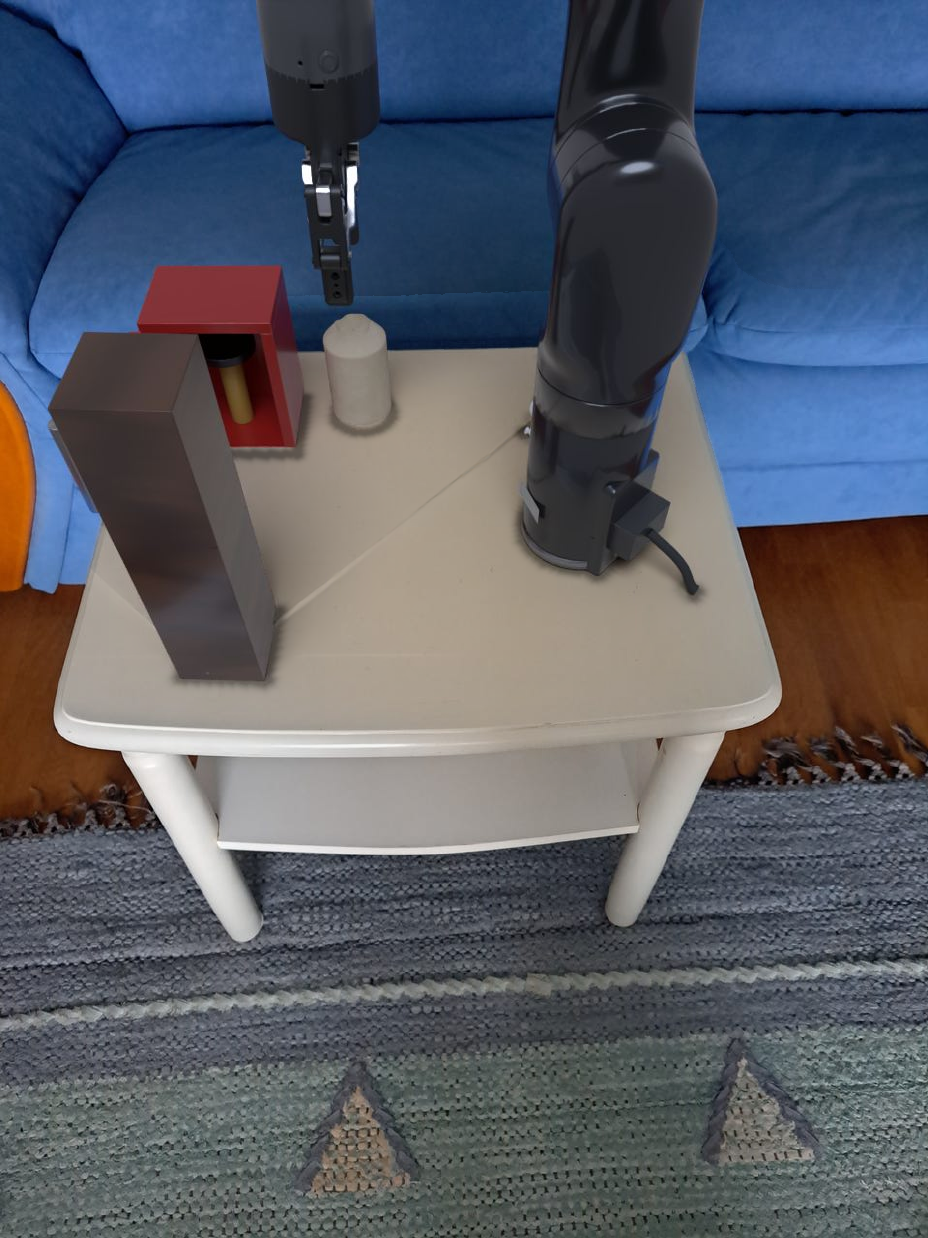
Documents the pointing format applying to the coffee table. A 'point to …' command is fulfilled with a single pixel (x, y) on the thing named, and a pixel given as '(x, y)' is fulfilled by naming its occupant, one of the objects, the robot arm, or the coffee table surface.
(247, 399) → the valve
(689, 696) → the coffee table surface
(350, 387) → the candle
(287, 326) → the cabinet
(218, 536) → the plinth
